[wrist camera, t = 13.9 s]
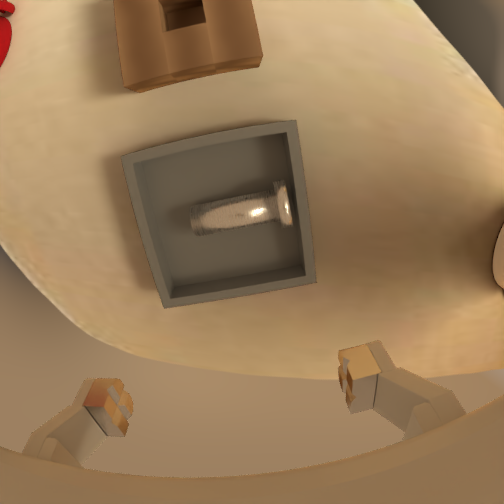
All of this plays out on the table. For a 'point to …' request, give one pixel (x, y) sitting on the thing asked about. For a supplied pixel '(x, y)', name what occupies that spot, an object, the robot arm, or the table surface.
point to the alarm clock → (5, 29)
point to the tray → (213, 189)
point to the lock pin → (242, 211)
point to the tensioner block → (184, 40)
